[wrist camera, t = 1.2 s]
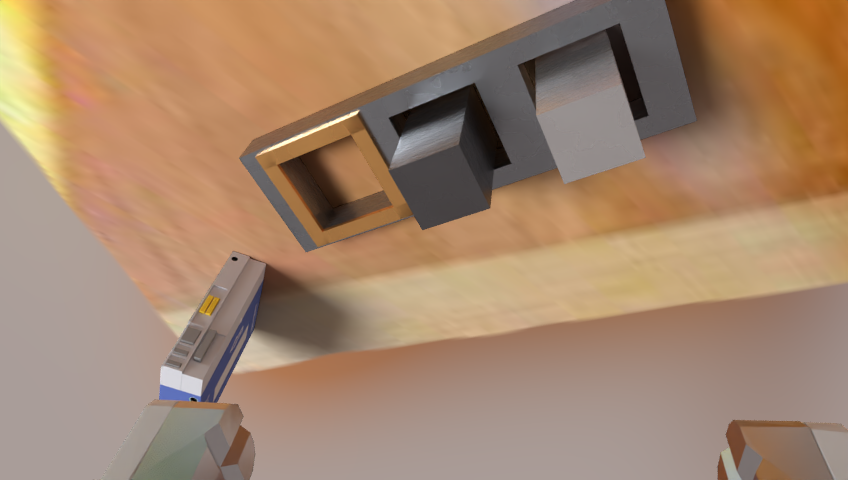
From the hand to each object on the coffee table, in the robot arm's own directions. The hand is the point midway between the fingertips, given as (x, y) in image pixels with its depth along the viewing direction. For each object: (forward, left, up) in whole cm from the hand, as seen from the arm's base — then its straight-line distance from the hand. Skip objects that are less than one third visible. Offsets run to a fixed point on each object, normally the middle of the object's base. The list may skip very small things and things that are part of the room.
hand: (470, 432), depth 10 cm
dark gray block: (+6, +6, -29) cm, 30 cm away
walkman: (+28, +13, -29) cm, 43 cm away
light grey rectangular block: (-2, +6, -29) cm, 29 cm away
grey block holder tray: (+6, +6, -29) cm, 30 cm away
